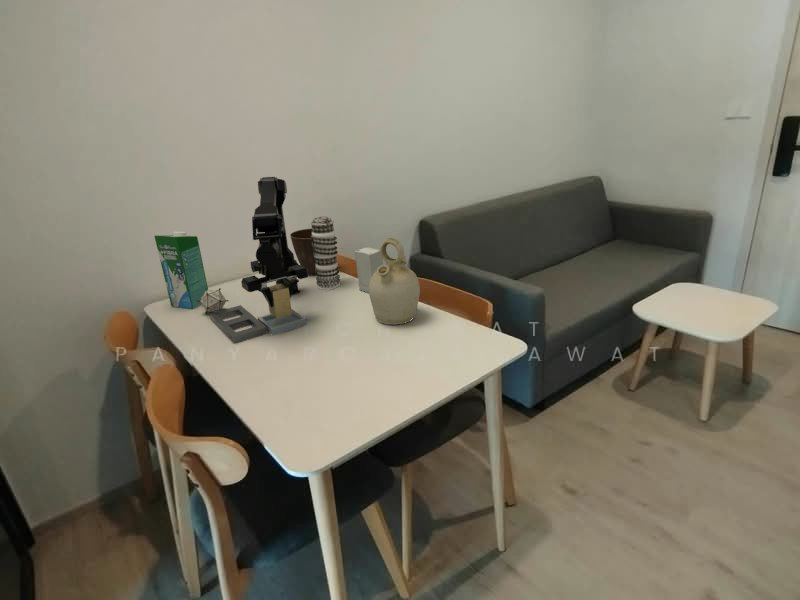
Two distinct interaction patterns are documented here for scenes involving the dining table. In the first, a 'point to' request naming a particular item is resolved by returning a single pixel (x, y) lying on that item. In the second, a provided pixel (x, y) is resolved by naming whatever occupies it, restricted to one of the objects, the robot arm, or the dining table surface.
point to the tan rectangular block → (280, 301)
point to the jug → (394, 288)
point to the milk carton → (182, 268)
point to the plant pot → (304, 249)
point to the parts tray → (282, 322)
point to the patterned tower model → (325, 253)
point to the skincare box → (367, 265)
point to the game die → (212, 300)
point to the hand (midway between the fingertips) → (279, 304)
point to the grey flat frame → (238, 324)
